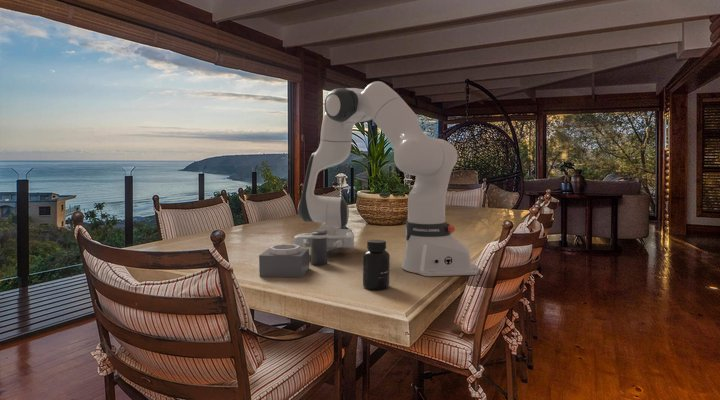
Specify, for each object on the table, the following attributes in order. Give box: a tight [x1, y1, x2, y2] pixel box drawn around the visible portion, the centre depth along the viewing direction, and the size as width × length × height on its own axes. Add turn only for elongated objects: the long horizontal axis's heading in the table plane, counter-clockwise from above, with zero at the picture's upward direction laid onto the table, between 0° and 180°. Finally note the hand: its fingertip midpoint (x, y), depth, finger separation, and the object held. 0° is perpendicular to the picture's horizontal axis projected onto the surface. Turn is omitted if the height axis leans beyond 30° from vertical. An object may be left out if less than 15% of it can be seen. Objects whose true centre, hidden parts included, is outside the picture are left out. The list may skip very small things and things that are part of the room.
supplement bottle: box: [362, 239, 391, 291], centre depth 109 cm, size 7×7×12 cm
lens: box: [310, 230, 328, 267], centre depth 133 cm, size 5×5×10 cm
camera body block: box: [258, 243, 310, 278], centre depth 123 cm, size 12×10×8 cm
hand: (320, 245), depth 136 cm, fingers open, 8 cm apart
